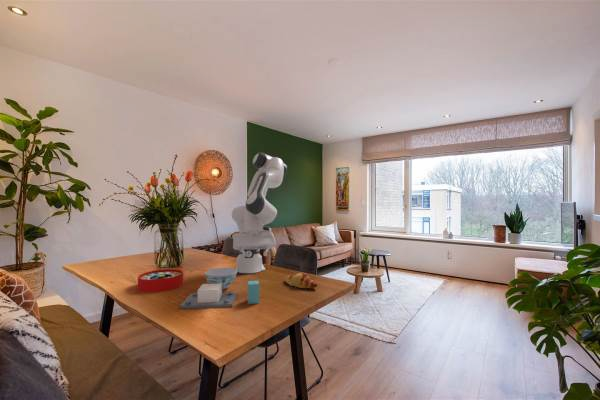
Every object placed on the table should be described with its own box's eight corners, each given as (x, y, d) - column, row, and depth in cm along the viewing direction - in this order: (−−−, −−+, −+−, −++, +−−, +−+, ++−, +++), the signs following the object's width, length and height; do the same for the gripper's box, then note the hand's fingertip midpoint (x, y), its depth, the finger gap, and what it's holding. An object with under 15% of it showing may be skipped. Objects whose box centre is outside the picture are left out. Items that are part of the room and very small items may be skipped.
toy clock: (191, 270, 140) (162, 281, 121) (191, 281, 140) (162, 294, 121) (160, 267, 146) (127, 278, 126) (160, 278, 146) (127, 290, 126)
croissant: (281, 289, 139) (276, 277, 136) (292, 276, 146) (287, 264, 143) (313, 298, 125) (308, 284, 122) (324, 283, 132) (320, 270, 129)
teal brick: (247, 300, 114) (247, 281, 114) (258, 299, 115) (258, 280, 115) (248, 304, 110) (248, 284, 110) (259, 303, 111) (259, 283, 111)
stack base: (190, 296, 118) (190, 282, 118) (236, 295, 120) (236, 281, 120) (179, 308, 105) (179, 292, 105) (232, 306, 107) (232, 291, 107)
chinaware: (242, 287, 131) (242, 271, 131) (213, 294, 120) (214, 277, 120) (227, 280, 141) (227, 266, 141) (199, 287, 131) (199, 271, 131)
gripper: (232, 228, 129) (232, 252, 120) (274, 228, 135) (277, 250, 125) (232, 236, 134) (232, 260, 124) (272, 235, 139) (275, 258, 130)
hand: (255, 255), depth 125 cm, fingers open, 8 cm apart
